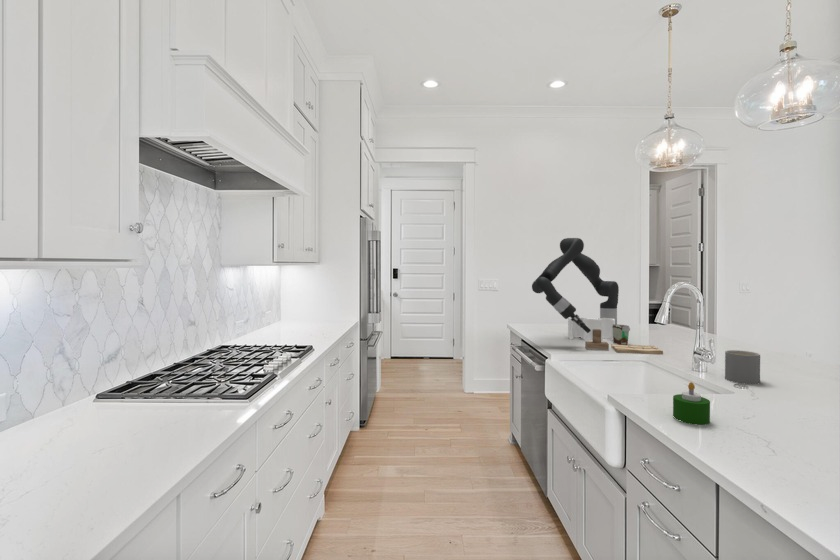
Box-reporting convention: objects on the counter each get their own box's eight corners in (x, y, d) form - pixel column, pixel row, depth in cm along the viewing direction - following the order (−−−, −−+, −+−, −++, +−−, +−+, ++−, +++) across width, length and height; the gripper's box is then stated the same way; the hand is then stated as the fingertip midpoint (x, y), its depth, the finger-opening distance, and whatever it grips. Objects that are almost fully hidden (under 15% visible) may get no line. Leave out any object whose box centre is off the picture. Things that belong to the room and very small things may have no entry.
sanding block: (585, 348, 213) (585, 328, 213) (606, 348, 211) (606, 329, 211) (587, 350, 207) (587, 330, 207) (608, 351, 205) (608, 330, 205)
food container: (634, 346, 216) (634, 327, 216) (622, 346, 217) (622, 327, 216) (623, 342, 229) (623, 324, 229) (612, 342, 229) (612, 324, 229)
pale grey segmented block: (613, 339, 240) (613, 318, 240) (616, 341, 231) (616, 320, 230) (567, 337, 248) (567, 317, 247) (568, 339, 238) (568, 318, 238)
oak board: (611, 347, 214) (611, 344, 214) (654, 348, 209) (654, 345, 209) (617, 352, 200) (617, 349, 200) (663, 354, 195) (663, 351, 195)
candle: (675, 411, 117) (675, 376, 117) (711, 418, 112) (711, 381, 112) (670, 420, 111) (670, 382, 110) (708, 427, 105) (708, 388, 105)
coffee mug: (763, 385, 142) (763, 356, 142) (727, 382, 147) (727, 354, 147) (754, 376, 154) (754, 349, 154) (721, 373, 159) (721, 347, 159)
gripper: (571, 303, 205) (596, 327, 202) (568, 301, 219) (591, 323, 216) (559, 314, 206) (584, 337, 204) (557, 311, 220) (580, 333, 218)
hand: (588, 330), depth 210 cm, fingers open, 8 cm apart
